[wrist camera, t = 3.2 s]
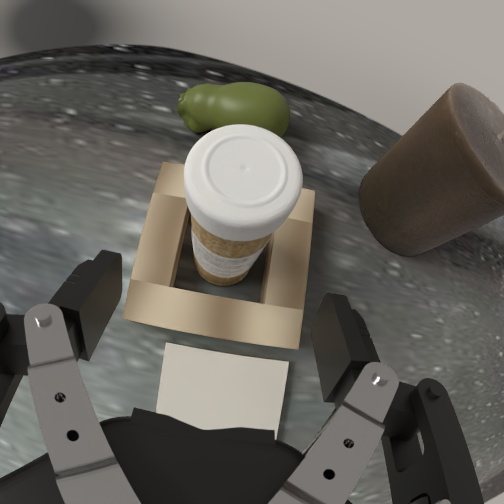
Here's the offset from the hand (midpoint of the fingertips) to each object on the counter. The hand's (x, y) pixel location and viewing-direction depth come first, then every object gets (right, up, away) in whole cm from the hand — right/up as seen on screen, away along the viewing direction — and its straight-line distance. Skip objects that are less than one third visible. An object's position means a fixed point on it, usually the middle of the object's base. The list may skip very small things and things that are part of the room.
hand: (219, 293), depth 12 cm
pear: (-1, +13, +16) cm, 21 cm away
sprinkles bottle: (-1, +1, +12) cm, 12 cm away
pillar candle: (+16, +6, +16) cm, 23 cm away
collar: (-1, +1, +12) cm, 12 cm away
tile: (-1, -10, +9) cm, 14 cm away
